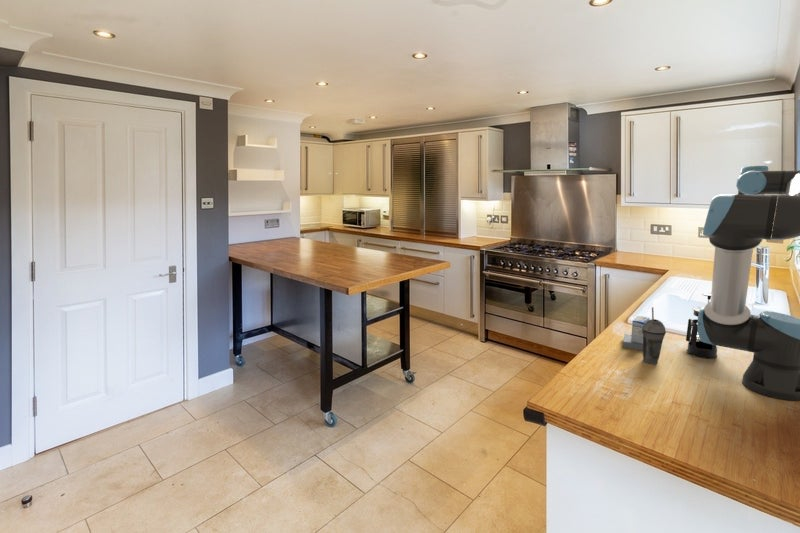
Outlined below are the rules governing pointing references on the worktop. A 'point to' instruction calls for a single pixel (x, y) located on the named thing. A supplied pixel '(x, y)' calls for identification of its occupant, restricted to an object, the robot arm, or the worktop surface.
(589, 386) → the worktop surface
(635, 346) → the base board
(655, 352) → the beverage cup
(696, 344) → the french press
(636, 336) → the medicine box
